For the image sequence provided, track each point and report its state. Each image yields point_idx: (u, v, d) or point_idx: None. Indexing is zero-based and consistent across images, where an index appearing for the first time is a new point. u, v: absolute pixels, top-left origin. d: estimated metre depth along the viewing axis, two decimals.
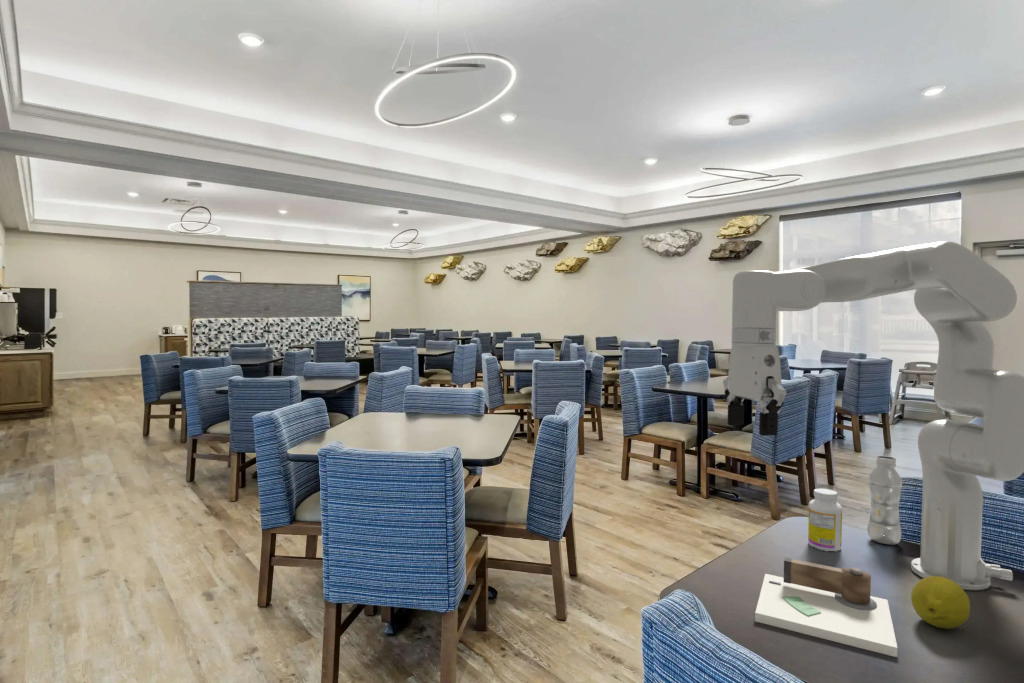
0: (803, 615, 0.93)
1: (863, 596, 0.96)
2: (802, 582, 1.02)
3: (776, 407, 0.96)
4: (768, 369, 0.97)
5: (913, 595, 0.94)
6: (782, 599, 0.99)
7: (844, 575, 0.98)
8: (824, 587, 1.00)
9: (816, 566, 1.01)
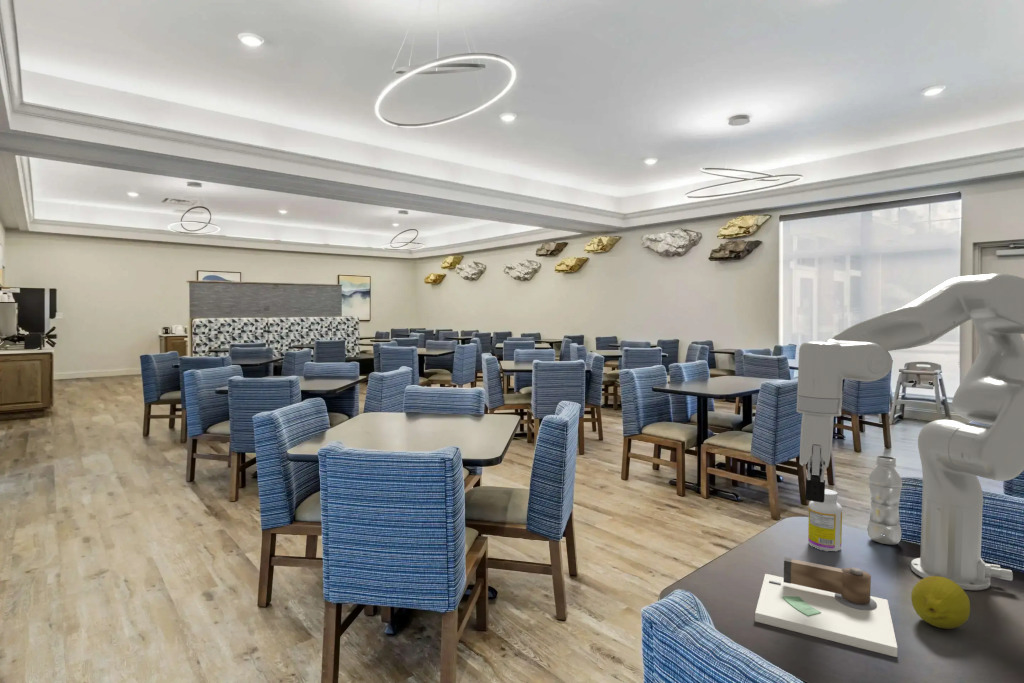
0: (803, 615, 0.93)
1: (863, 596, 0.96)
2: (802, 582, 1.02)
3: None
4: None
5: (913, 595, 0.94)
6: (782, 599, 0.99)
7: (844, 575, 0.98)
8: (824, 587, 1.00)
9: (816, 566, 1.01)
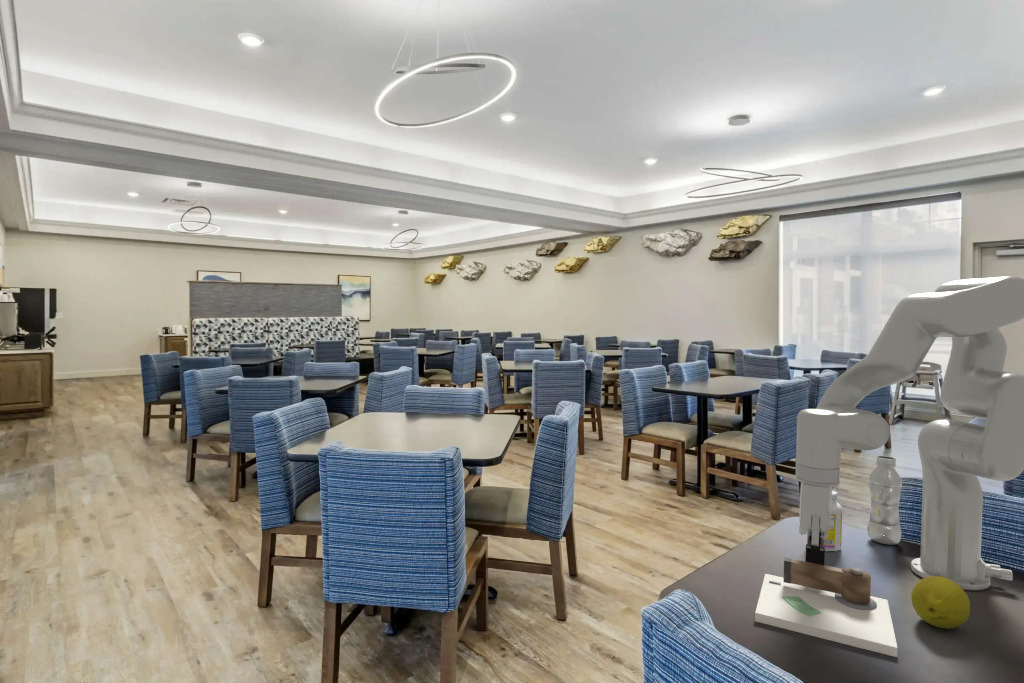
0: (803, 615, 0.93)
1: (863, 596, 0.96)
2: (802, 582, 1.02)
3: None
4: None
5: (913, 595, 0.94)
6: (782, 599, 0.99)
7: (844, 575, 0.98)
8: (824, 587, 1.00)
9: (816, 566, 1.01)
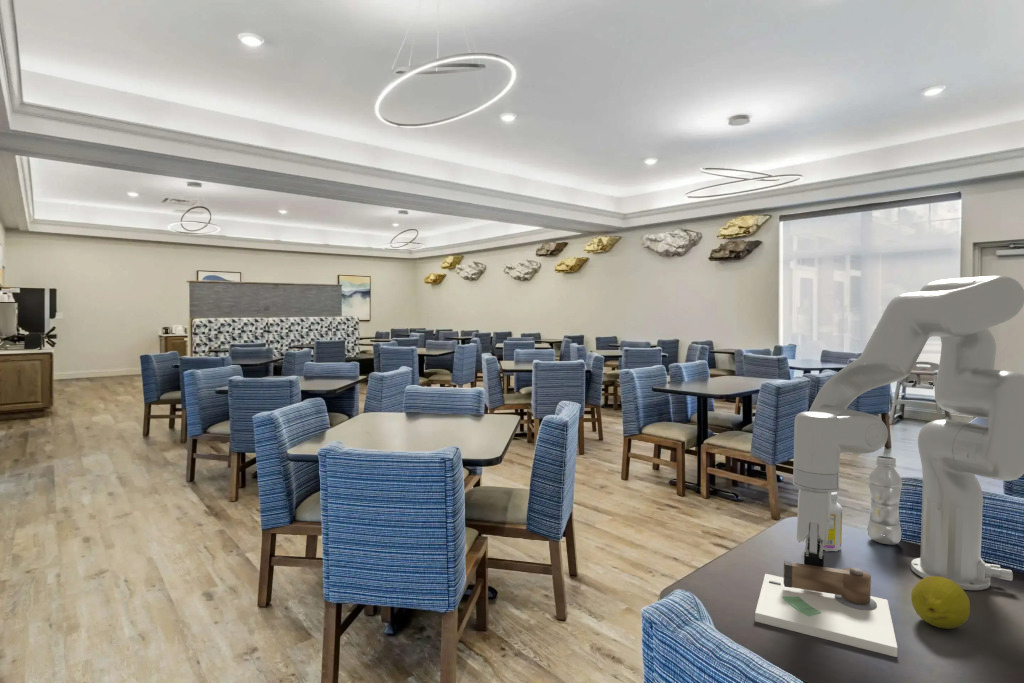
0: (803, 615, 0.93)
1: (865, 596, 0.96)
2: (804, 585, 1.00)
3: None
4: None
5: (913, 595, 0.94)
6: (782, 599, 0.99)
7: (846, 576, 0.98)
8: (825, 589, 0.99)
9: (817, 568, 1.00)
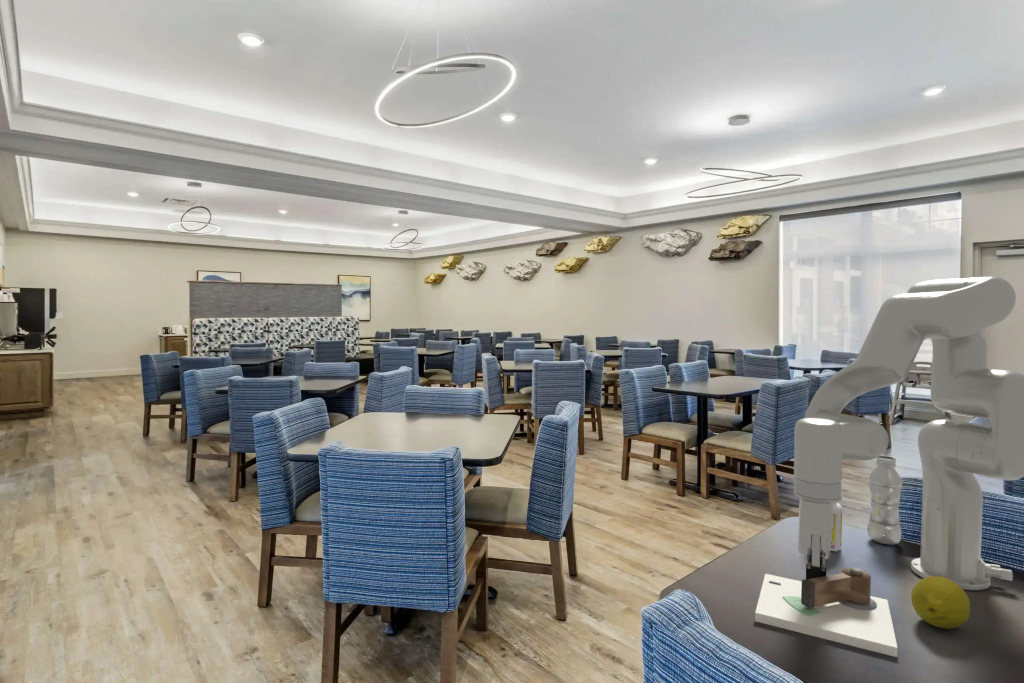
0: (803, 615, 0.93)
1: None
2: (823, 600, 0.95)
3: None
4: None
5: (913, 595, 0.94)
6: (782, 599, 0.99)
7: (854, 579, 0.96)
8: (838, 598, 0.96)
9: (831, 579, 0.96)
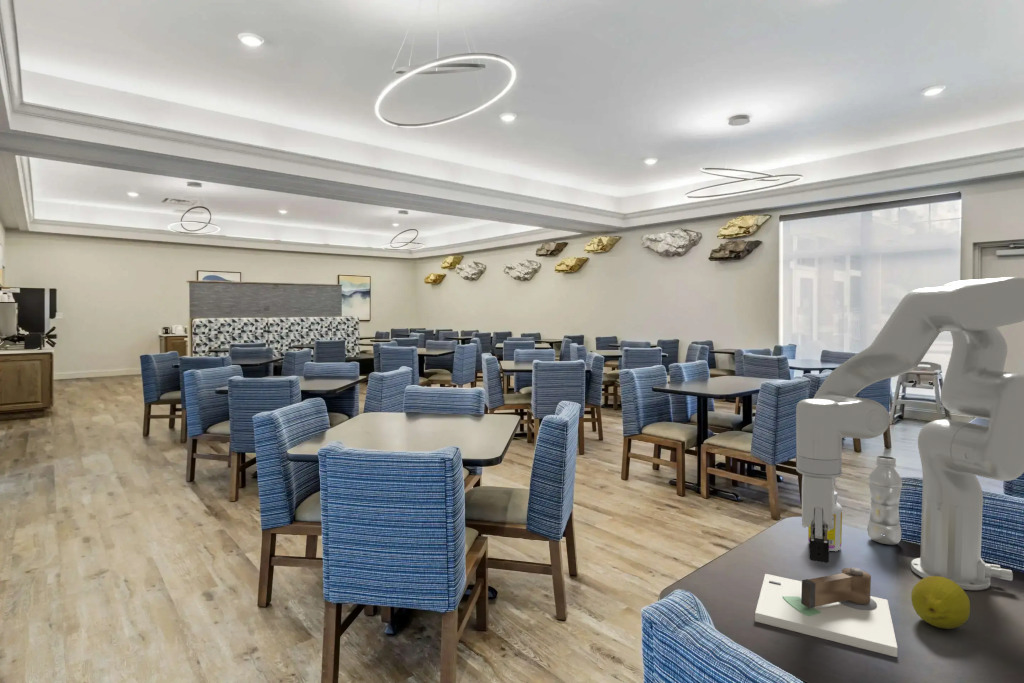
0: (803, 615, 0.93)
1: None
2: (823, 601, 0.95)
3: None
4: None
5: (913, 595, 0.94)
6: (782, 599, 0.99)
7: (855, 579, 0.96)
8: (839, 598, 0.96)
9: (831, 579, 0.96)
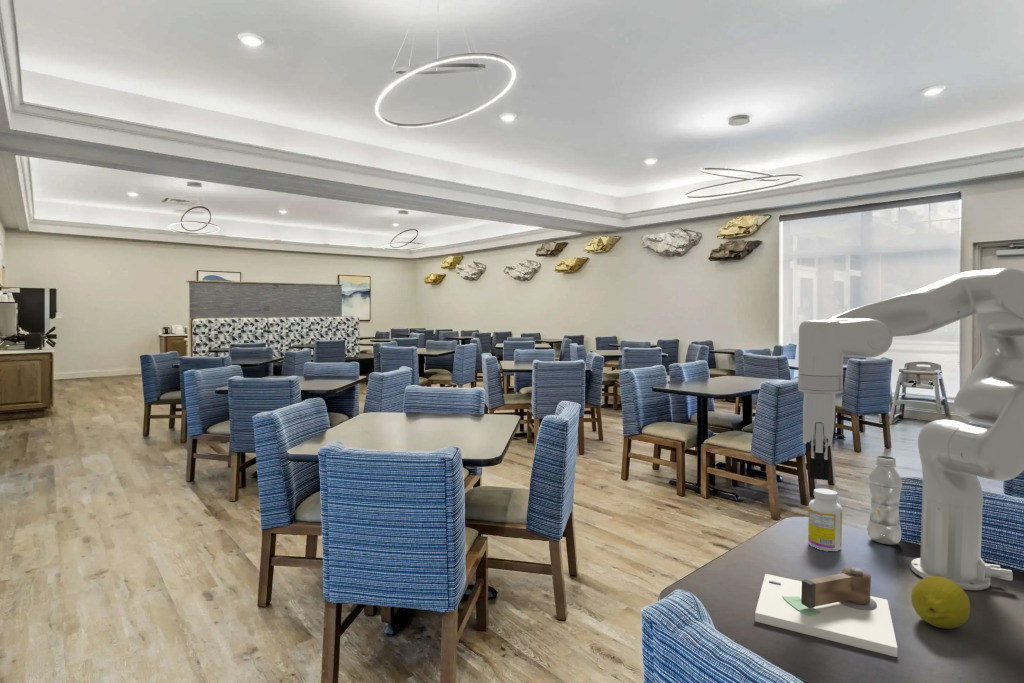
0: (803, 615, 0.93)
1: None
2: (823, 601, 0.95)
3: None
4: None
5: (913, 595, 0.94)
6: (782, 599, 0.99)
7: (855, 579, 0.96)
8: (839, 598, 0.96)
9: (831, 579, 0.96)
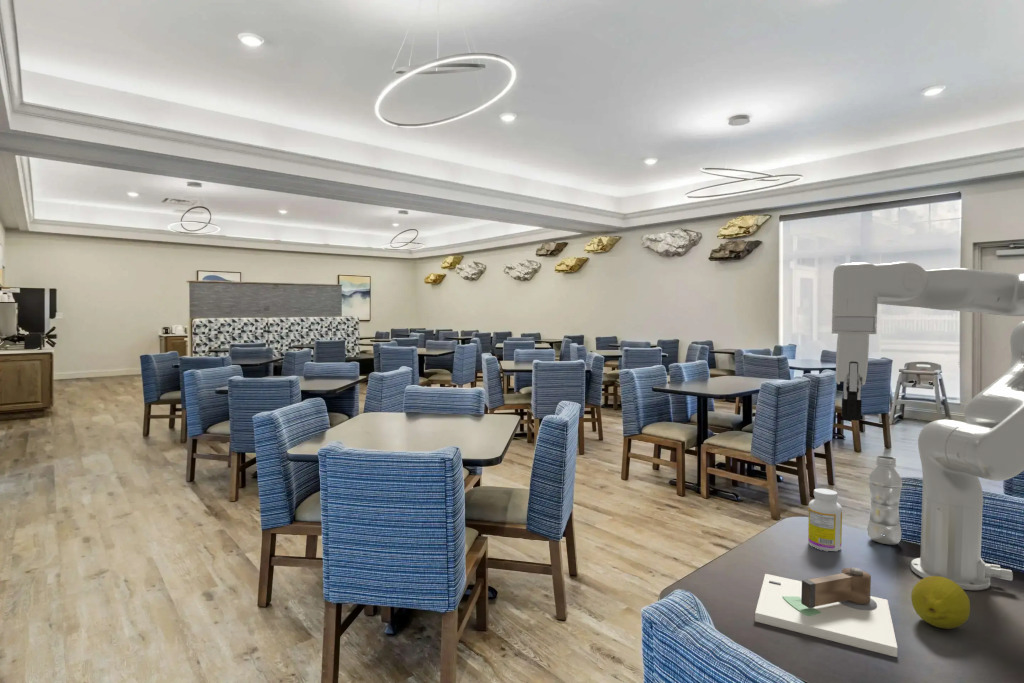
0: (803, 615, 0.93)
1: None
2: (823, 601, 0.95)
3: None
4: None
5: (913, 595, 0.94)
6: (782, 599, 0.99)
7: (855, 579, 0.96)
8: (839, 598, 0.96)
9: (831, 579, 0.96)
